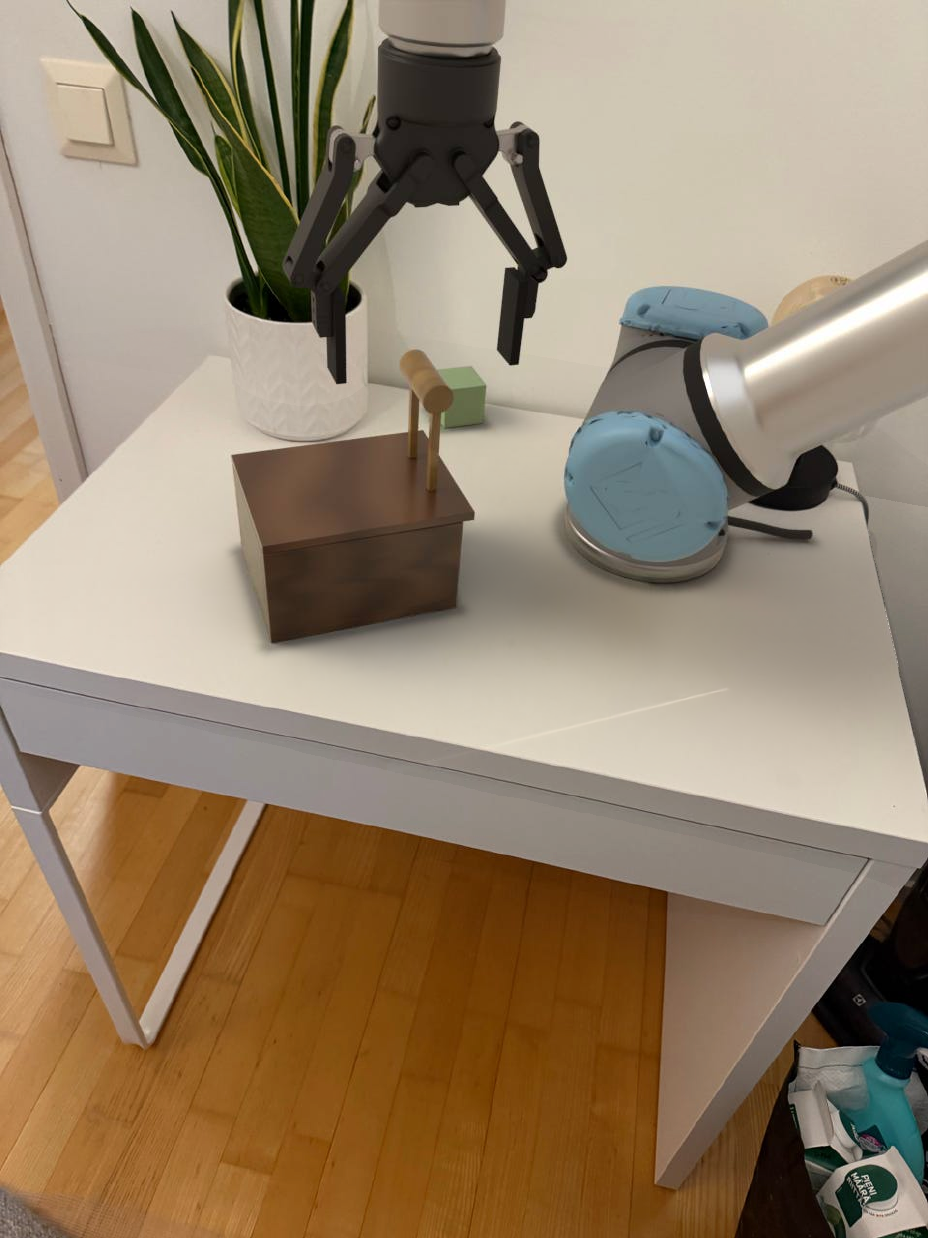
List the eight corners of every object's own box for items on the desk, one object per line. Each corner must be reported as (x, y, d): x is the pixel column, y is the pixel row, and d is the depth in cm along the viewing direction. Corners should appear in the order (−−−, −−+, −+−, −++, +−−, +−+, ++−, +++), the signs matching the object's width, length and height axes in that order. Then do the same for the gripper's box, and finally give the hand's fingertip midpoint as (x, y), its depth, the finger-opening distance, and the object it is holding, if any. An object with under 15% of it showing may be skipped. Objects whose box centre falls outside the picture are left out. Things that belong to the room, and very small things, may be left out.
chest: (410, 521, 88) (413, 439, 82) (456, 607, 79) (463, 522, 73) (241, 548, 83) (231, 463, 77) (271, 643, 74) (262, 555, 68)
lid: (422, 437, 82) (428, 327, 75) (474, 520, 74) (485, 404, 67) (231, 462, 77) (218, 347, 70) (262, 554, 68) (251, 433, 62)
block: (468, 402, 106) (471, 365, 102) (483, 423, 102) (486, 385, 99) (430, 407, 104) (432, 369, 101) (443, 428, 101) (446, 389, 98)
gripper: (596, 29, 63) (553, 329, 77) (220, 25, 55) (249, 359, 69) (650, 56, 58) (594, 372, 72) (243, 55, 50) (270, 409, 64)
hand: (424, 366), depth 70 cm, fingers open, 13 cm apart
